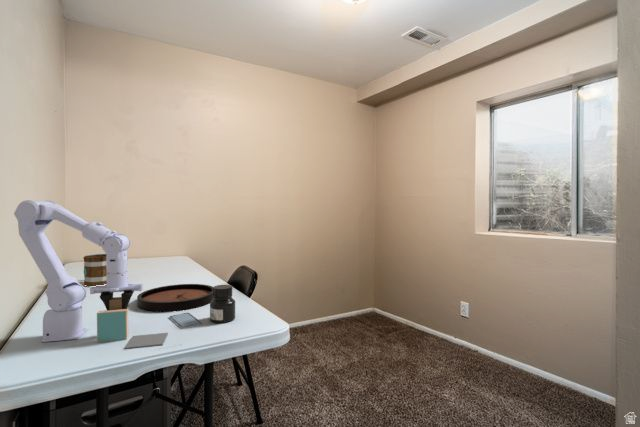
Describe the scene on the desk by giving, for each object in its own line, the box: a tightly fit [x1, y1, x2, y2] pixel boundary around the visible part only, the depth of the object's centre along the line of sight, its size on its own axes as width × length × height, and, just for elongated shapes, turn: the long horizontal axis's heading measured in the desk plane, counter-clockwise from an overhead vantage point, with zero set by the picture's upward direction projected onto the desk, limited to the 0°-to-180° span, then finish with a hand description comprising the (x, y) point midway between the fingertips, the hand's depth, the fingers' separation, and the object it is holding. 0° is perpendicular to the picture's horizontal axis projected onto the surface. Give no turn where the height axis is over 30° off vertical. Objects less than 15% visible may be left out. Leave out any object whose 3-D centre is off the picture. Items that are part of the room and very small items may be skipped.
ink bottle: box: [209, 284, 236, 324], centre depth 120 cm, size 10×9×12 cm
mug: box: [83, 253, 107, 287], centre depth 176 cm, size 20×14×15 cm
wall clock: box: [136, 283, 214, 313], centre depth 144 cm, size 31×4×31 cm
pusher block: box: [109, 296, 122, 310], centre depth 106 cm, size 3×3×7 cm
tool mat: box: [124, 332, 169, 350], centre depth 101 cm, size 10×9×1 cm
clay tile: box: [96, 308, 129, 343], centre depth 102 cm, size 8×2×9 cm, turn 106°
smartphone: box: [168, 312, 203, 330], centre depth 119 cm, size 7×1×15 cm
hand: (117, 314), depth 106 cm, fingers closed on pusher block, 3 cm apart
